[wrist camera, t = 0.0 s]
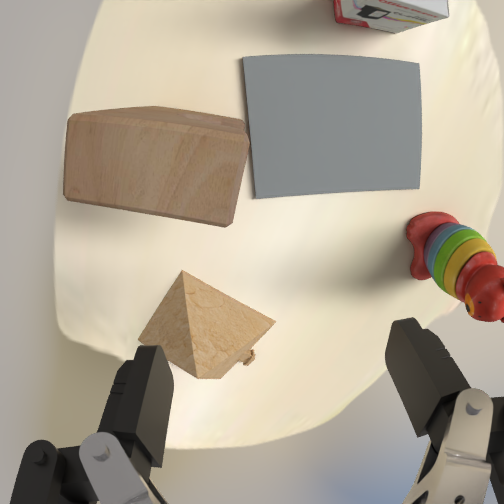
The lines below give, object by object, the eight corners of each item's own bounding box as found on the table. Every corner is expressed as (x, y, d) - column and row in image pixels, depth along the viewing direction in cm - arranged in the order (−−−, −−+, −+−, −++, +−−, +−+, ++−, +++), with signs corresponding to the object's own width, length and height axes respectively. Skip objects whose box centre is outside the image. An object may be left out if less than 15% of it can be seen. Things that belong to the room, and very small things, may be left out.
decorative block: (245, 120, 34) (253, 137, 16) (234, 166, 36) (230, 234, 18) (152, 103, 32) (66, 110, 14) (144, 150, 35) (59, 201, 17)
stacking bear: (403, 219, 40) (478, 289, 24) (457, 199, 39) (539, 253, 23) (410, 281, 45) (468, 358, 29) (460, 259, 43) (524, 323, 28)
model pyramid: (224, 379, 53) (223, 425, 44) (135, 337, 48) (120, 382, 39) (282, 320, 47) (291, 368, 38) (181, 265, 42) (168, 309, 33)
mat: (242, 57, 30) (242, 56, 30) (416, 63, 30) (419, 63, 30) (255, 197, 38) (256, 198, 37) (417, 187, 38) (419, 188, 37)
